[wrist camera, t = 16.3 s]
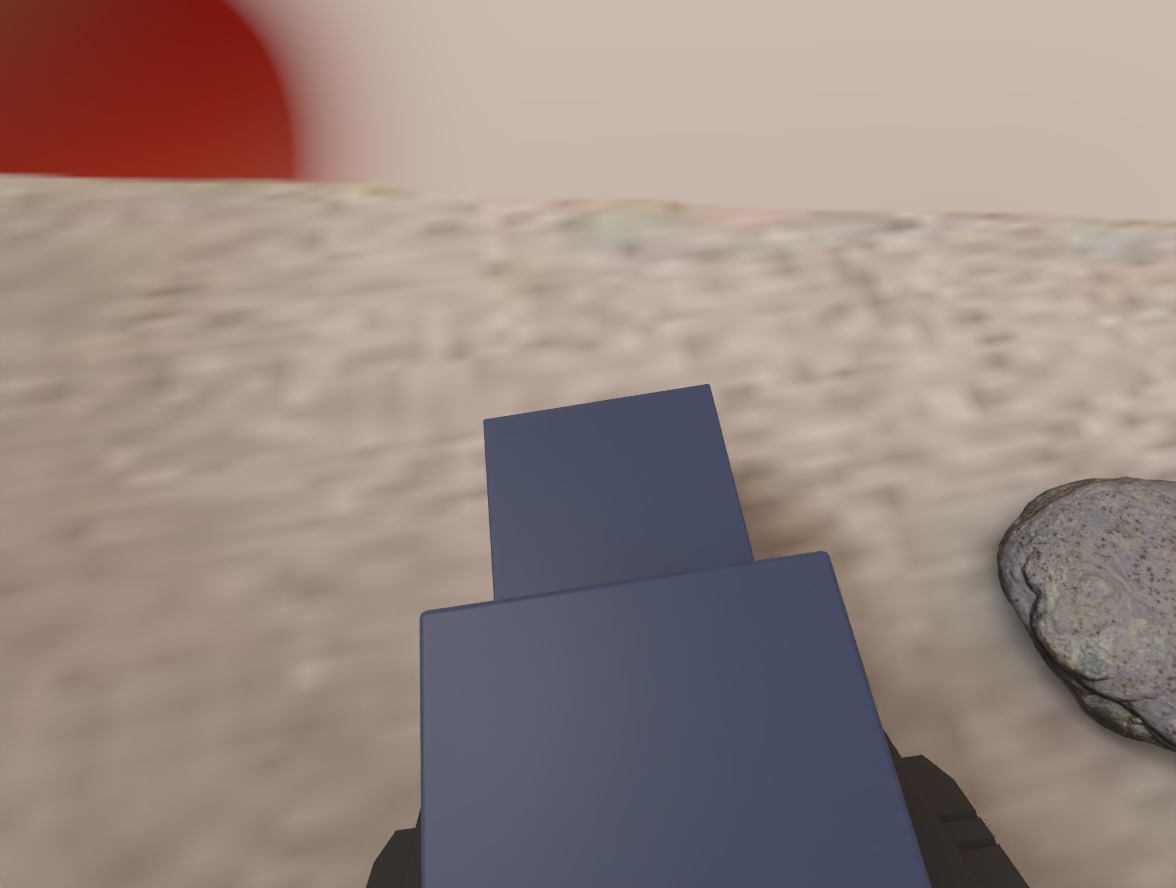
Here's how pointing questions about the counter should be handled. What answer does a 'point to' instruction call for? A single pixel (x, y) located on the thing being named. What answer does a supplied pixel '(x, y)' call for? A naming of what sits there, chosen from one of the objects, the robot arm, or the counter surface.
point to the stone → (1102, 597)
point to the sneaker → (647, 680)
